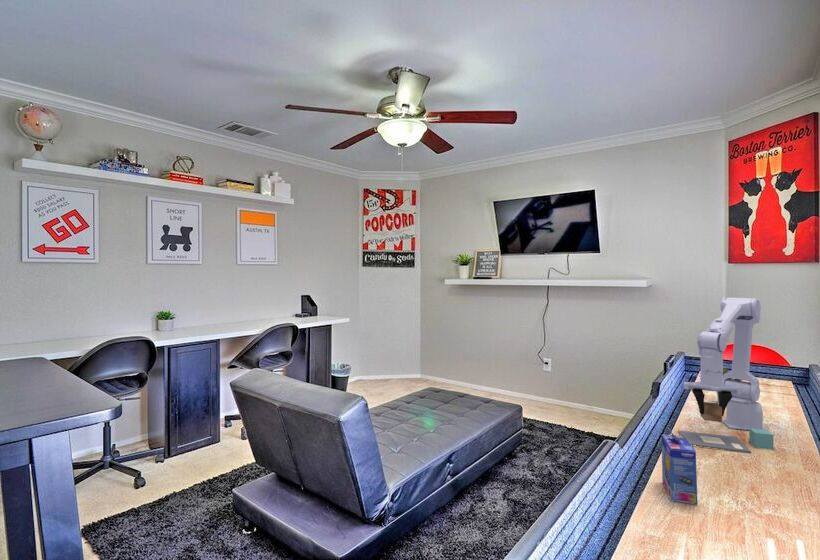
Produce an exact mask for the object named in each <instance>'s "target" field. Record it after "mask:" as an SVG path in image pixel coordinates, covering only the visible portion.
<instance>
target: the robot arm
mask: <svg viewBox="0 0 820 560" xmlns="http://www.w3.org/2000/svg"><path fill="white" fill-rule="evenodd" d="M719 306H720V312H721V313H720V315H719V317H717V318H715V319H713V320H712V321H711V323H710V324H709V326H708V327H707V329H706V330H704V331H702V332H699V334H698V335H697V340H696V344H697V345H696V346H697V348H698V354H699V355H700V377H699V378H700V379H699V380H700V382H697V381H696V382H695V381H694V382H692V381H689V382H688V381H683V389H685V390H687V391H689V390H691V392H692V394H693V396H694V397H695V400H696V402H697V406H698V410H699V411H698V412H699V414H700V415H701V414H704V402H705V391H708V392H716V391H717V392H718V396H719V403H718V404H719V405H720V406H721V407H722V417H724V415H725V412H726V419H722V423H724V424H725V425H726V427H728V429H735V430H745V431H749V428H755V429H764V428H763V422H764V417H763V416H764V415H763V414H764V412H763V411H764V410H763V407H762V404H761V403H760V402H758V401H759V398H760V397H761V396H760V395H761V394H760V393H761V389H760V381H759V379H758V378H757V377H756V376H755V375H753V373H751V372H750V369H751V368H750V366H751V354H752V353H751V352H752V340H753V339H752V338H753V329H754V325H755V324H759V323H760V320H761V310H762V309H761V303H760V300H759V299H758V298H757V297H753V298H750V297H749V298H748V297H727V296H724V297H723V298H722V299H721V301H720V305H719ZM733 325H734V326H733ZM733 329H734V335H733V348H732V349H733V350H732V362H731V370H729V371H727V373H725V374H724V375H723V368H724V352H725V350H726V349H727V344H728V341H729V340H728V339H729V338H728V337H729V336H730V335H731V333H732V331H733ZM731 379H740V380H742V381H737V380H731ZM717 392H716V393H717Z"/></svg>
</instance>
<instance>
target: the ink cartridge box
mask: <svg viewBox="0 0 820 560" xmlns="http://www.w3.org/2000/svg"><path fill="white" fill-rule="evenodd" d="M668 432H670V434H667V433H663V434H662V433H661V436H660V437H661V465H662V466H661V471H662V472H661V474H662V477H661V478H662V479H661V480H662V481H663V482H662V484H663V483H664V484H663V486H664V485H665V486H664V488H666V489H665V491H666V490H667V491H666V493H667V492H668V493H667V495H668V494H669V495H668V497H669V496H670V497H669V499H670V498H671V499H670V501H671V500H673V501H672V502H678V503H682V502H683V503H684V504H689V503H690V505H695V504H697V505H698V501H699V500H698V475H697V472H698V471H697V451H696V449H695V448H694V446H691V445H690V443H689V442H688V440H687V439H686V438H685V437H684V436H680V435H675V434H674V433H673V432H672V430H671V429H670V428H668Z"/></svg>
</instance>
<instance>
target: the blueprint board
mask: <svg viewBox="0 0 820 560" xmlns="http://www.w3.org/2000/svg"><path fill="white" fill-rule="evenodd" d="M678 432H679V433H678ZM677 433H678V435H679V434H680V435H681V436H684V437H685V438H686V439H687V440H688V442H689V443H690V445H696V446H702V447H701V448H703V447H710V448H709V449H711V448H718V449H717V450H720V449H724V450H723V451H729V452H738V453H746V454H752V450H750V448H749V447H748V446H747V445H745V443H743V442H742V441H741V440H740V439H739V438H738V436H733V435H722V434H716V433H715V434H713V433H705V432H694V431H687V430H680V429H679V430H677ZM680 435H679V436H680Z"/></svg>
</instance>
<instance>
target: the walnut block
mask: <svg viewBox="0 0 820 560" xmlns="http://www.w3.org/2000/svg"><path fill="white" fill-rule="evenodd" d="M699 415H700V417H701V418H702V419H703V421H707V422H717V423H723V421H722V420H723V416H722V407H721V406H720V405H719V403H718V402H710V401H709V402H706V401H704V414H701V413H700V414H699Z"/></svg>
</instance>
